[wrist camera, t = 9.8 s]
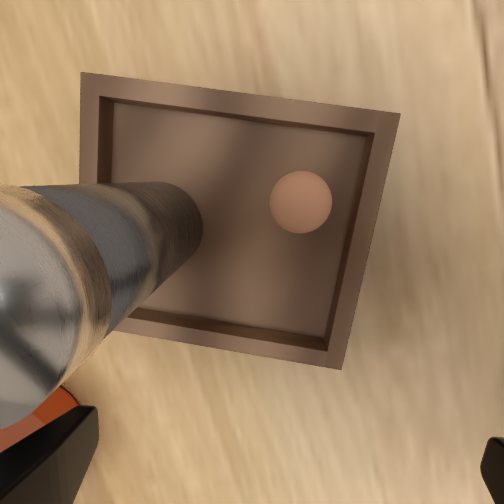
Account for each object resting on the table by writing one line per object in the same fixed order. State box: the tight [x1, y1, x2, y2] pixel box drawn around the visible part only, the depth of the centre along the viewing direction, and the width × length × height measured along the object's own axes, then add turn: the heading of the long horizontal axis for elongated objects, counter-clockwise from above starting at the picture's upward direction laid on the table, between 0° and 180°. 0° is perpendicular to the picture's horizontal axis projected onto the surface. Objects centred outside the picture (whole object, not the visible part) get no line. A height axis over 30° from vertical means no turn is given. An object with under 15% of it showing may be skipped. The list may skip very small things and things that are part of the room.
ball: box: [269, 171, 332, 233], centre depth 17 cm, size 3×3×3 cm
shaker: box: [0, 181, 203, 429], centre depth 13 cm, size 5×5×13 cm
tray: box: [79, 72, 401, 370], centre depth 19 cm, size 16×14×2 cm
